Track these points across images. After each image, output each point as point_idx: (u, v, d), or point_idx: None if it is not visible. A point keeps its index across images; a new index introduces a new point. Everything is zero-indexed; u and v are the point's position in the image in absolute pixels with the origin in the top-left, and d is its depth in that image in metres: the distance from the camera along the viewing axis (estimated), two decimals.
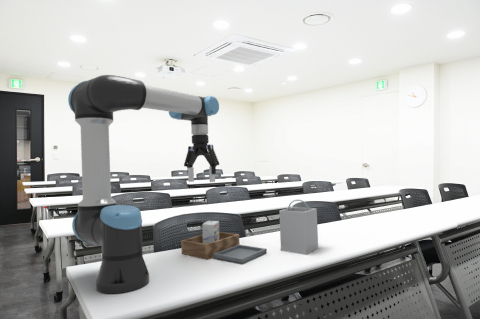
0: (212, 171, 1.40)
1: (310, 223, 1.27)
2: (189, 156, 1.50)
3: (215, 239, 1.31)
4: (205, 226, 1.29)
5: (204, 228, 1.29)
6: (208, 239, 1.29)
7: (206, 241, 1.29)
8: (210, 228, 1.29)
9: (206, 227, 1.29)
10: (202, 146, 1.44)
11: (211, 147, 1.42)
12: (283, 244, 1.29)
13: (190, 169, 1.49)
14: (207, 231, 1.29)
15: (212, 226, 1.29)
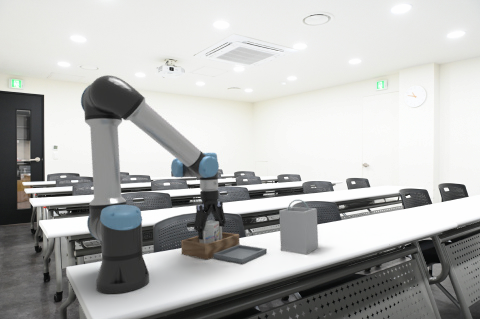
0: None
1: (310, 223, 1.27)
2: (219, 212, 1.38)
3: (215, 239, 1.31)
4: (205, 226, 1.29)
5: (204, 228, 1.29)
6: (208, 239, 1.29)
7: (206, 241, 1.29)
8: (210, 228, 1.29)
9: (206, 227, 1.29)
10: None
11: (198, 208, 1.28)
12: (283, 244, 1.29)
13: None
14: (207, 231, 1.29)
15: (212, 226, 1.29)
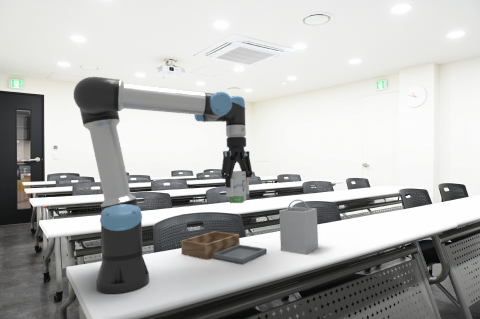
0: None
1: (310, 223, 1.27)
2: (245, 163, 1.30)
3: (243, 188, 1.22)
4: (232, 174, 1.20)
5: None
6: (236, 188, 1.20)
7: (234, 190, 1.20)
8: (238, 176, 1.20)
9: (233, 175, 1.20)
10: None
11: (225, 154, 1.19)
12: (283, 244, 1.29)
13: None
14: (235, 179, 1.20)
15: (240, 173, 1.20)
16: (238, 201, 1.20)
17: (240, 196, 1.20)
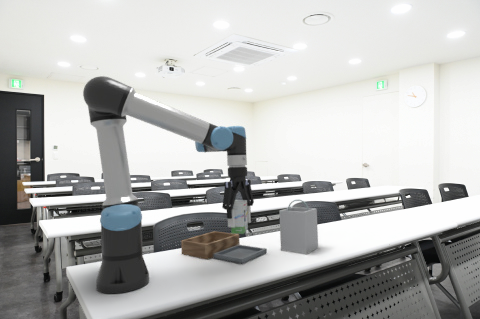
0: None
1: (310, 223, 1.27)
2: (246, 191, 1.29)
3: (244, 218, 1.22)
4: (234, 204, 1.20)
5: (233, 206, 1.20)
6: (237, 218, 1.20)
7: (235, 220, 1.20)
8: (239, 206, 1.20)
9: (235, 206, 1.20)
10: None
11: (227, 185, 1.19)
12: (283, 244, 1.29)
13: None
14: (236, 210, 1.20)
15: (241, 204, 1.20)
16: (240, 232, 1.20)
17: (242, 227, 1.20)
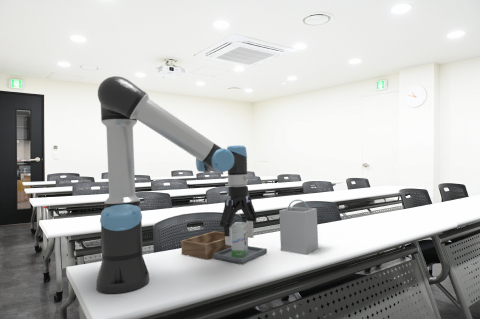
0: None
1: (310, 223, 1.27)
2: (248, 208, 1.30)
3: (245, 242, 1.21)
4: (234, 228, 1.20)
5: (233, 230, 1.20)
6: (238, 242, 1.20)
7: (235, 244, 1.20)
8: (240, 230, 1.20)
9: (235, 229, 1.20)
10: None
11: (227, 203, 1.19)
12: (283, 244, 1.29)
13: (248, 223, 1.29)
14: (236, 233, 1.20)
15: (242, 228, 1.19)
16: (240, 255, 1.20)
17: (242, 250, 1.19)
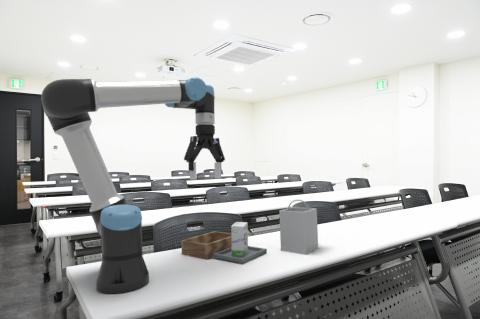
0: None
1: (310, 223, 1.27)
2: (216, 149, 1.32)
3: (245, 242, 1.21)
4: (234, 228, 1.20)
5: (233, 230, 1.20)
6: (238, 242, 1.20)
7: (235, 244, 1.20)
8: (240, 230, 1.20)
9: (235, 229, 1.20)
10: None
11: (192, 139, 1.21)
12: (283, 244, 1.29)
13: (215, 164, 1.32)
14: (236, 233, 1.20)
15: (242, 228, 1.19)
16: (240, 255, 1.20)
17: (242, 250, 1.19)
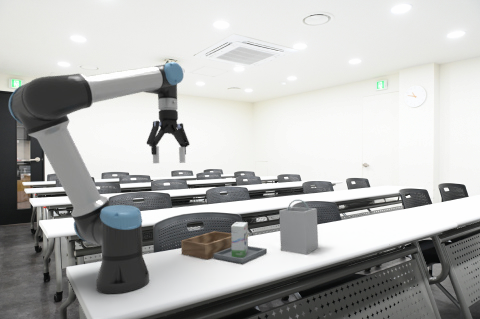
0: None
1: (310, 223, 1.27)
2: (181, 134, 1.36)
3: (245, 242, 1.21)
4: (234, 228, 1.20)
5: (233, 230, 1.20)
6: (238, 242, 1.20)
7: (235, 244, 1.20)
8: (240, 230, 1.20)
9: (235, 229, 1.20)
10: None
11: (154, 124, 1.25)
12: (283, 244, 1.29)
13: (180, 149, 1.35)
14: (236, 233, 1.20)
15: (242, 228, 1.19)
16: (240, 255, 1.20)
17: (242, 250, 1.19)
